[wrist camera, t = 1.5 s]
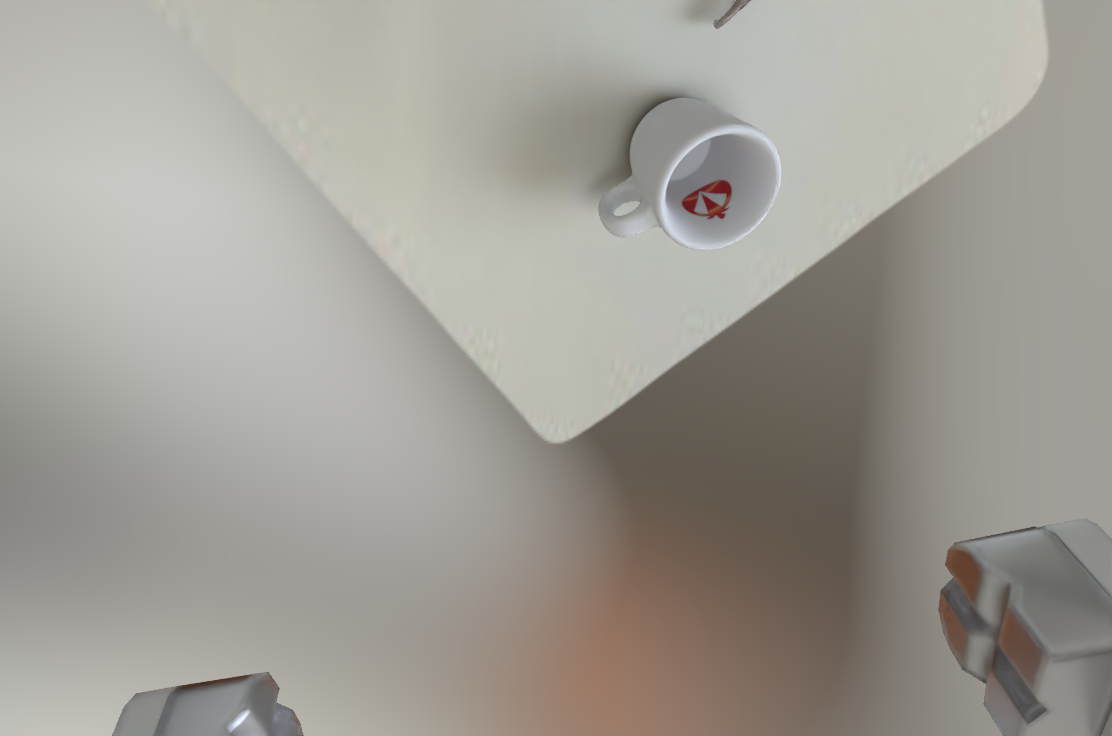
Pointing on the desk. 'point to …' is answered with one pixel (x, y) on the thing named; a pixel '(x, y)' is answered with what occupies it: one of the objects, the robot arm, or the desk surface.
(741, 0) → the decorative sculpture
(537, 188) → the desk surface
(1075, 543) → the robot arm
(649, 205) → the cup
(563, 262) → the desk surface
